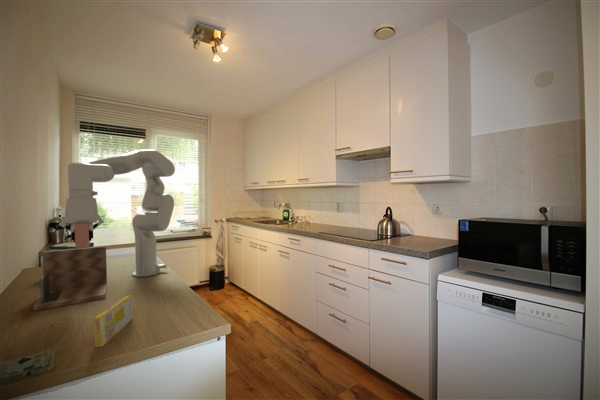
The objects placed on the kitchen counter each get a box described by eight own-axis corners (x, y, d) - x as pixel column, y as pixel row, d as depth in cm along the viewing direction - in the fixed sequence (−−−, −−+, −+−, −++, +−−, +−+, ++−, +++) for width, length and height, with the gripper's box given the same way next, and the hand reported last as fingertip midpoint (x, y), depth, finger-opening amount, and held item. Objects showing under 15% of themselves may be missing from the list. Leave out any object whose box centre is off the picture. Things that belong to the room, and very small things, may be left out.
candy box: (126, 320, 91) (125, 295, 90) (133, 319, 91) (132, 294, 91) (93, 347, 74) (93, 317, 74) (102, 347, 75) (101, 316, 74)
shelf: (107, 285, 125) (105, 246, 125) (105, 298, 110) (104, 253, 110) (44, 295, 113) (43, 251, 113) (33, 310, 98) (31, 260, 98)
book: (89, 243, 114) (89, 221, 114) (88, 246, 106) (88, 223, 106) (77, 244, 112) (76, 222, 111) (75, 248, 103) (74, 224, 103)
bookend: (61, 292, 113) (61, 270, 113) (56, 300, 104) (56, 276, 104) (47, 294, 110) (46, 271, 110) (41, 303, 101) (40, 278, 101)
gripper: (107, 194, 116) (108, 237, 117) (54, 195, 106) (55, 242, 107) (107, 194, 110) (108, 240, 111) (51, 195, 100) (53, 245, 101)
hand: (82, 240), depth 109 cm, fingers closed on book, 4 cm apart
